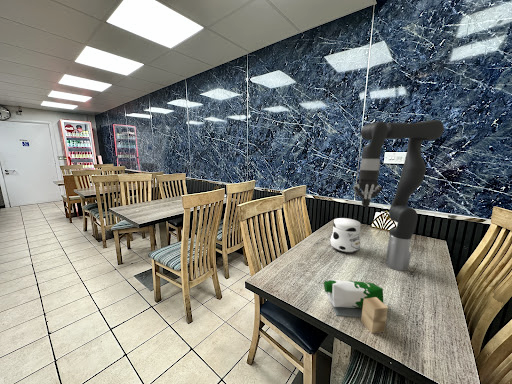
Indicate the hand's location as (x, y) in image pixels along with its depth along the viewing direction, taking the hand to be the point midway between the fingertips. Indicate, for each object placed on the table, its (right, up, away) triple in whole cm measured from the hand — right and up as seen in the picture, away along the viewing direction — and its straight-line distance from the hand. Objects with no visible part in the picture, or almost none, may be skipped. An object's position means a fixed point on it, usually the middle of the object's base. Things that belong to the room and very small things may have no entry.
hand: (365, 206), depth 92 cm
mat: (-13, -38, -13) cm, 42 cm away
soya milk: (-3, -33, -16) cm, 37 cm away
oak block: (-11, -40, -24) cm, 47 cm away
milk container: (+6, -30, +34) cm, 46 cm away
